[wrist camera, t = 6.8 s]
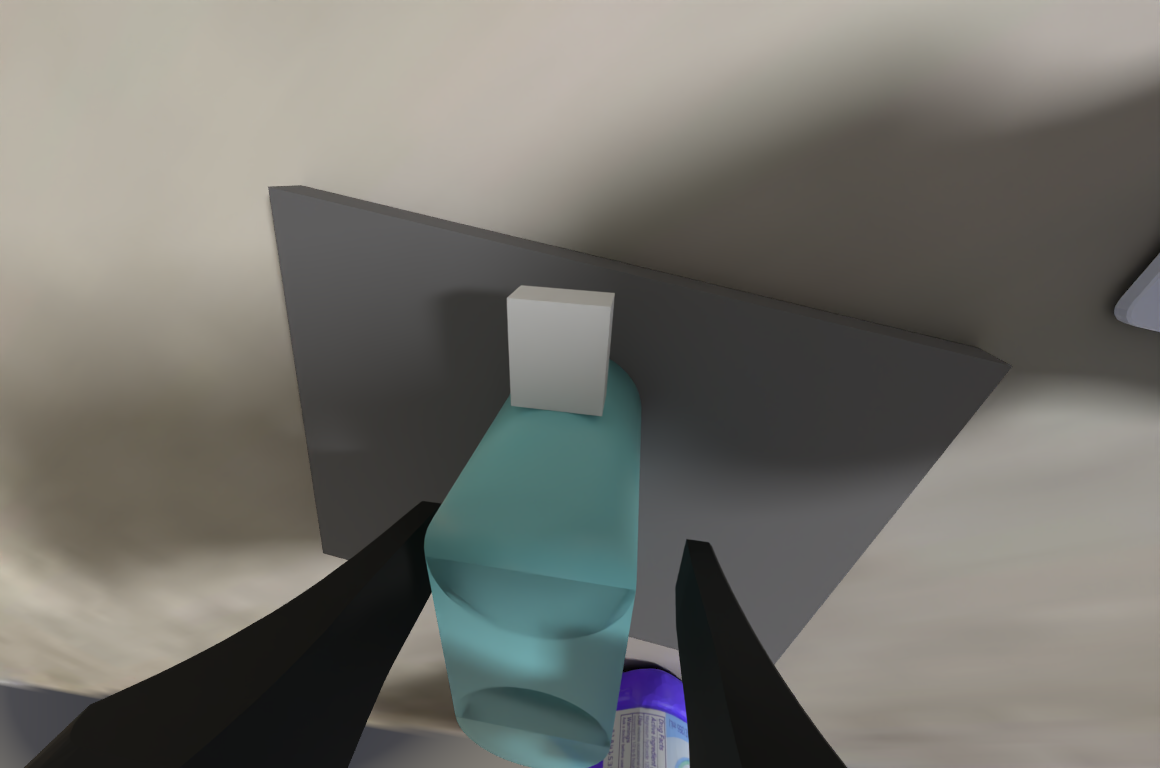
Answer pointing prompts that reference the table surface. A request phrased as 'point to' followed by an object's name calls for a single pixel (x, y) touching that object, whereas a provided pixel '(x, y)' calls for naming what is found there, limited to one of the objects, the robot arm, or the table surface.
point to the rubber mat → (664, 382)
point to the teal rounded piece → (544, 542)
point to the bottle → (649, 723)
